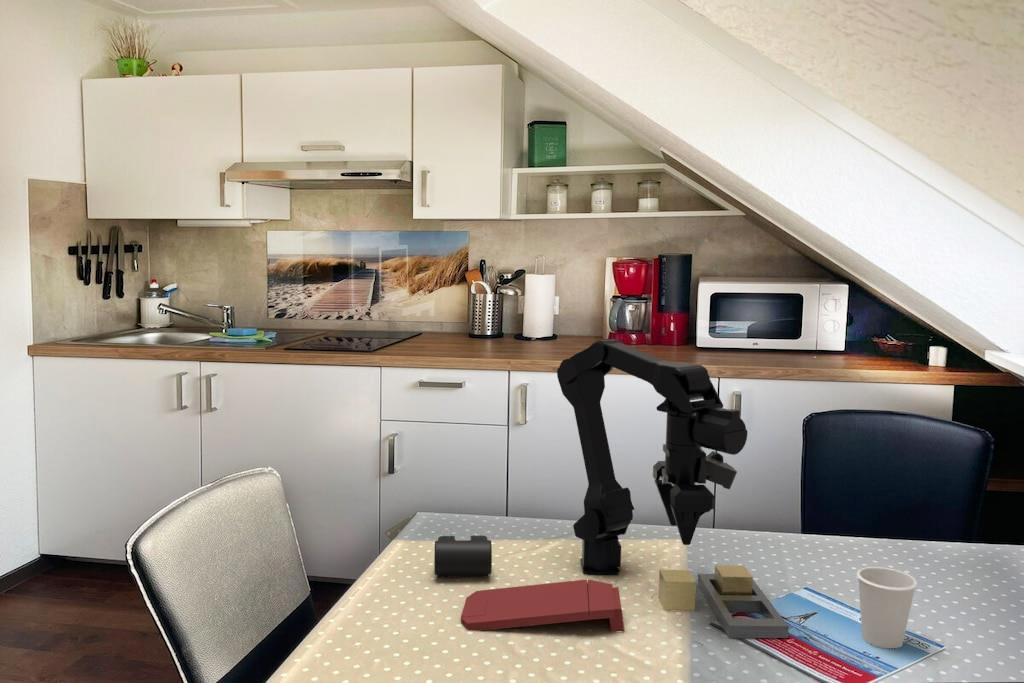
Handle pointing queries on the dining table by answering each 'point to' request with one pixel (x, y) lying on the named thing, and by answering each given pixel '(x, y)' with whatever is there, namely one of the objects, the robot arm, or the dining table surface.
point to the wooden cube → (677, 590)
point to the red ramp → (543, 605)
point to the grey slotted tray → (738, 603)
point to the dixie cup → (885, 605)
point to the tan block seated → (732, 580)
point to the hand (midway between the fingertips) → (679, 534)
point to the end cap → (463, 557)
